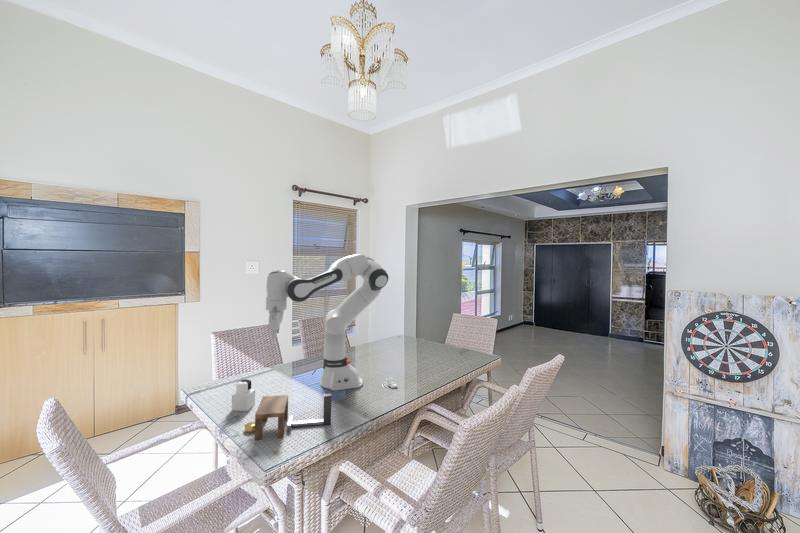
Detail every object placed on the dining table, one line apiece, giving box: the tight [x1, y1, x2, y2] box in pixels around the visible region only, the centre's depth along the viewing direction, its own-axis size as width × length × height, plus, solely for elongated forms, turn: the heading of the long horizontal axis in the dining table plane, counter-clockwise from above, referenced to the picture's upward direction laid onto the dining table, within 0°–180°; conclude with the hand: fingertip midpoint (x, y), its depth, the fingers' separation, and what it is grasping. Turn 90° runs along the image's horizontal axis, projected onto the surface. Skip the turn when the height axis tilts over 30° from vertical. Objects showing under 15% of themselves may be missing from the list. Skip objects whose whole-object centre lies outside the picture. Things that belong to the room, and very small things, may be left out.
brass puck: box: [244, 421, 255, 434], centre depth 130 cm, size 5×5×2 cm
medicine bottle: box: [231, 378, 256, 412], centre depth 148 cm, size 7×7×12 cm
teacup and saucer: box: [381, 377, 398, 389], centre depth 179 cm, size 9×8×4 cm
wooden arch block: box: [254, 394, 289, 441], centre depth 132 cm, size 10×16×10 cm, turn 13°
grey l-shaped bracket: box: [286, 392, 333, 433], centre depth 135 cm, size 17×8×12 cm, turn 103°
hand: (275, 335), depth 153 cm, fingers open, 8 cm apart
